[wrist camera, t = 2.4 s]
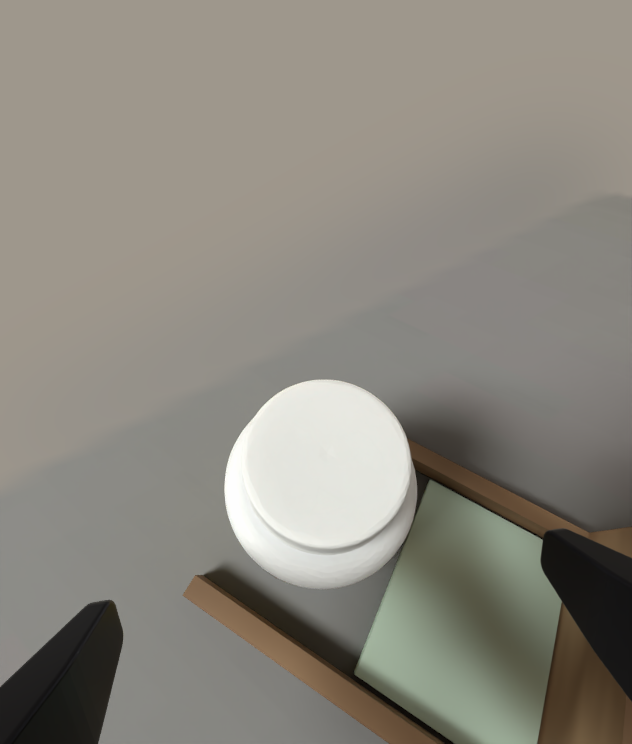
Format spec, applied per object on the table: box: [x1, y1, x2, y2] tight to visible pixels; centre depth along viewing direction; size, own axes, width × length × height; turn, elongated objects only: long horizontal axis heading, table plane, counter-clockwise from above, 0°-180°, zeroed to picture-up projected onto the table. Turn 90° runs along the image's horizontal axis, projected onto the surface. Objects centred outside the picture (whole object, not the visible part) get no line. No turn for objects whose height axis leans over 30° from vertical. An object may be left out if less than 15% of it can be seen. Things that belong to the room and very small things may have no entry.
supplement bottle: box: [225, 380, 417, 589], centre depth 13 cm, size 6×6×10 cm
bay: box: [183, 438, 632, 744], centre depth 14 cm, size 11×15×4 cm
